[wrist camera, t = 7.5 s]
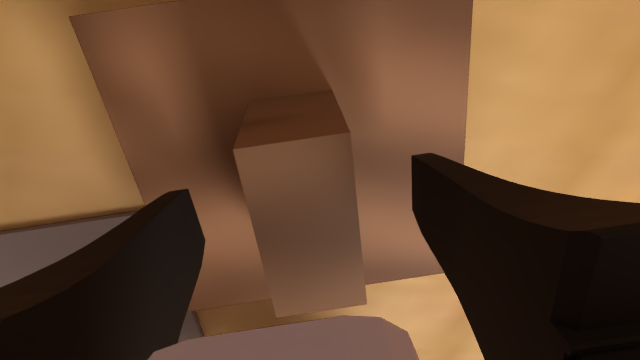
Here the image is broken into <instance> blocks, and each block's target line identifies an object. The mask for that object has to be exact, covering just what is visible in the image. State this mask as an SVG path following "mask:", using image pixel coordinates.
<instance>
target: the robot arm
mask: <svg viewBox="0 0 640 360" xmlns="http://www.w3.org/2000/svg"><path fill="white" fill-rule="evenodd" d="M411 174H412V211H413V213H414V216H415V219H416V221H417V224H418V226H419V229H420V231H421V233H422V235H423V237H424V239H425V241H426V242H427V244H428V246H429V247H430V249H431V251H432V253H433V254H434V256H435V258H436V259H437V261H438V263H439V265H440V266H441V268H442V270H443V271H444V273H445V275H446V276H447V278H448V280H449V282H450V283H451V285H452V287H453V289H454V291H455V292H456V294H457V296H458V298H459V301H460V303H461V305H462V307H463V310H464V312H465V314H466V316H467V319H468V321H469V323H470V325H471V328H472V330H473V333H474V335H475V337H476V340H477V342H478V345H479V347H480V349H481V352H482V354H483V357H484V359H485V360H640V203H631V202H620V201H610V200H600V199H592V198H585V197H578V196H572V195H566V194H561V193H555V192H550V191H545V190H540V189H536V188H532V187H528V186H524V185H520V184H517V183H513V182H510V181H507V180H504V179H501V178H498V177H495V176H492V175H489V174H486V173H483V172H480V171H478V170H475V169H473V168H470V167H468V166H465V165H463V164H460V163H458V162H455V161H453V160H450V159H448V158H445V157H443V156H440V155H437V154H434V153H424V154H417V155H411ZM205 241H206V240H205V237H204V234H203V231H202V228H201V225H200V222H199V219H198V216H197V213H196V210H195V207H194V204H193V201H192V198H191V195H190V192H189V189H182V190H175V191H169V192H167V193H165V194H163V195H161V196H160V197H158V198H157V199H155V200H154V201H152V202H151V203H149V204H148V205H146V206H145V207H143V208H142V209H141V210H139V211H138V212H136V213H135V214H133V215H132V216H131V217H129V218H128V219H126V220H125V221H123V222H122V223H120V224H119V225H117V226H116V227H114V228H113V229H111V230H110V231H108V232H107V233H105V234H104V235H102V236H101V237H99V238H97V239H96V240H94V241H93V242H91V243H89V244H88V245H86V246H84V247H83V248H81V249H79V250H77V251H76V252H74V253H72V254H70V255H68V256H66V257H64V258H63V259H61V260H59V261H57V262H55V263H53V264H51V265H49V266H47V267H44V268H42V269H40V270H38V271H36V272H34V273H32V274H30V275H27V276H25V277H23V278H21V279H19V280H17V281H14V282H12V283H10V284H7V285H5V286H3V287H0V360H419V358H418V355H417V353H416V350H415V348H414V346H413V343H412V341H411V339H410V336H409V334H408V332H407V331H405V330H403V329H401V328H399V327H398V326H396V325H394V324H392V323H390V322H388V321H386V320H385V319H383V318H380V317H366V316H339V317H332V318H325V319H319V320H312V321H305V322H299V323H292V324H286V325H279V326H272V327H266V328H259V329H253V330H246V331H239V332H233V333H226V334H220V335H213V336H206V337H200V338H193V339H188V340H185V341H183V342H180V343H178V340H179V336H180V333H181V329H182V326H183V322H184V319H185V316H186V313H187V310H188V307H189V304H190V301H191V298H192V295H193V292H194V289H195V286H196V283H197V280H198V276H199V273H200V270H201V267H202V261H203V255H204V248H205Z"/></svg>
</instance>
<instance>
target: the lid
mask: <svg viewBox="0 0 640 360" xmlns="http://www.w3.org/2000/svg"><path fill="white" fill-rule="evenodd" d="M472 9H473V0H180V1H173V2H166V3H159V4H152V5H145V6H139V7H132V8H125V9H118V10H111V11H104V12H97V13H90V14H83V15H77V16H70V17H69V19H70V21H71V23H72V26H73V28H74V31H75V33H76V36H77V38H78V41H79V43H80V46H81V48H82V51H83V53H84V56H85V58H86V60H87V63H88V65H89V68H90V70H91V73H92V75H93V78H94V80H95V83H96V85H97V88H98V90H99V92H100V95H101V97H102V100H103V102H104V105H105V107H106V110H107V112H108V115H109V117H110V120H111V122H112V124H113V127H114V129H115V132H116V134H117V137H118V139H119V142H120V144H121V147H122V149H123V152H124V154H125V156H126V159H127V161H128V164H129V166H130V169H131V171H132V174H133V176H134V179H135V181H136V184H137V186H138V188H139V191H140V193H141V196H142V198H143V201H144V203H145V206H146V205H148V204H149V203H151V202H152V201H154V200H155V199H157V198H158V197H160V196H161V195H163V194H165V193H167V192H169V191H175V190H182V189H189V192H190V195H191V198H192V201H193V204H194V207H195V210H196V213H197V216H198V219H199V222H200V225H201V228H202V231H203V234H204V237H205V240H206V241H205V248H204V255H203V261H202V267H201V270H200V273H199V276H198V280H197V283H196V286H195V289H194V292H193V295H192V298H191V301H190V304H189V307H188V312H189V311H196V310H202V309H209V308H216V307H222V306H229V305H236V304H242V303H249V302H255V301H262V300H269V299H271V300H272V304H273V308H274V312H275V316H276V318H279V317H286V316H292V315H299V314H306V313H312V312H319V311H325V310H332V309H339V308H345V307H352V306H358V305H365V304H367V300H366V289H365V285H368V284H375V283H381V282H388V281H394V280H401V279H408V278H414V277H421V276H428V275H434V274H441V273H444V271H443V270H442V268H441V266H440V265H439V263H438V261H437V259H436V258H435V256H434V254H433V253H432V251H431V249H430V247H429V246H428V244H427V242H426V241H425V239H424V237H423V235H422V233H421V231H420V229H419V226H418V224H417V221H416V219H415V216H414V213H413V211H412V174H411V155H417V154H424V153H434V154H437V155H440V156H443V157H445V158H448V159H450V160H453V161H455V162H458V163H460V164H463V165H464V151H465V133H466V116H467V98H468V80H469V62H470V44H471V27H472Z"/></svg>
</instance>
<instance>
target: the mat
mask: <svg viewBox="0 0 640 360" xmlns="http://www.w3.org/2000/svg"><path fill="white" fill-rule="evenodd" d="M136 212H138V211H134V212H128V213H121V214H114V215H107V216H101V217H94V218H87V219H80V220H74V221H67V222H60V223H54V224H47V225H40V226H33V227H27V228H20V229H13V230H6V231H0V287H3V286H5V285H7V284H10V283H12V282H14V281H17V280H19V279H21V278H23V277H25V276H27V275H30V274H32V273H34V272H36V271H38V270H40V269H42V268H44V267H47V266H49V265H51V264H53V263H55V262H57V261H59V260H61V259H63V258H64V257H66V256H68V255H70V254H72V253H74V252H76V251H77V250H79V249H81V248H83V247H84V246H86V245H88V244H89V243H91V242H93V241H94V240H96V239H97V238H99V237H101V236H102V235H104V234H105V233H107V232H108V231H110V230H111V229H113V228H114V227H116V226H117V225H119V224H120V223H122V222H123V221H125V220H126V219H128V218H129V217H131V216H132V215H133V214H135V213H136ZM200 337H204V335H203V332H202V329H201V327H200V324H199V322H198V319H197V317H196V314H195V312H194V311H189V312H188V310H187V313H186V316H185V319H184V322H183V326H182V329H181V333H180V336H179V340H178V343H180V342H183V341H185V340H188V339H193V338H200Z"/></svg>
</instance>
